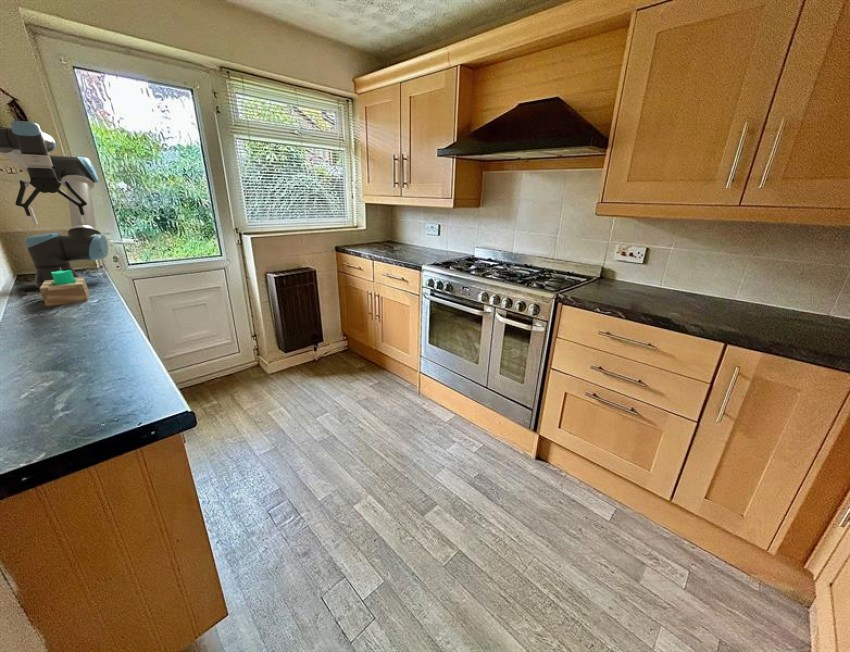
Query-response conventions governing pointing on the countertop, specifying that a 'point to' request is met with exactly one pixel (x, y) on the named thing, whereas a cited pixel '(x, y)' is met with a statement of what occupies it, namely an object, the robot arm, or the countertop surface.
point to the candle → (63, 277)
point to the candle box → (64, 292)
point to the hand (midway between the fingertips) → (60, 224)
